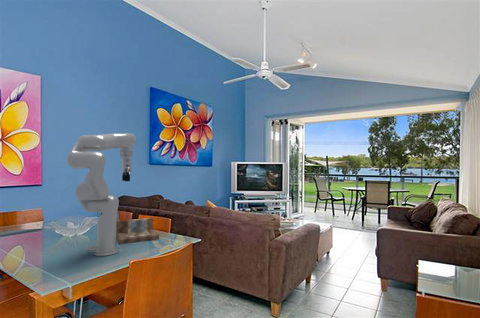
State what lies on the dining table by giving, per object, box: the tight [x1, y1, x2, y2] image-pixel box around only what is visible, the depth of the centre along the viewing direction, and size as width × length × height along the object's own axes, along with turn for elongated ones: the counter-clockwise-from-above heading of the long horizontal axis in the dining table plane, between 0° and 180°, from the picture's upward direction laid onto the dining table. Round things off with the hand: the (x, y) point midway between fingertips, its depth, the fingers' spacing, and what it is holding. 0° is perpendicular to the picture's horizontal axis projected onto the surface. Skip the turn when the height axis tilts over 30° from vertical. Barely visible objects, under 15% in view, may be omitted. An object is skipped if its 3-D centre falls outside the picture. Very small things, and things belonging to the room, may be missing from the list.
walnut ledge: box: [116, 217, 160, 245], centre depth 179 cm, size 24×20×10 cm
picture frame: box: [128, 217, 148, 236], centre depth 178 cm, size 12×5×10 cm, turn 121°
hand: (126, 180), depth 173 cm, fingers open, 9 cm apart
